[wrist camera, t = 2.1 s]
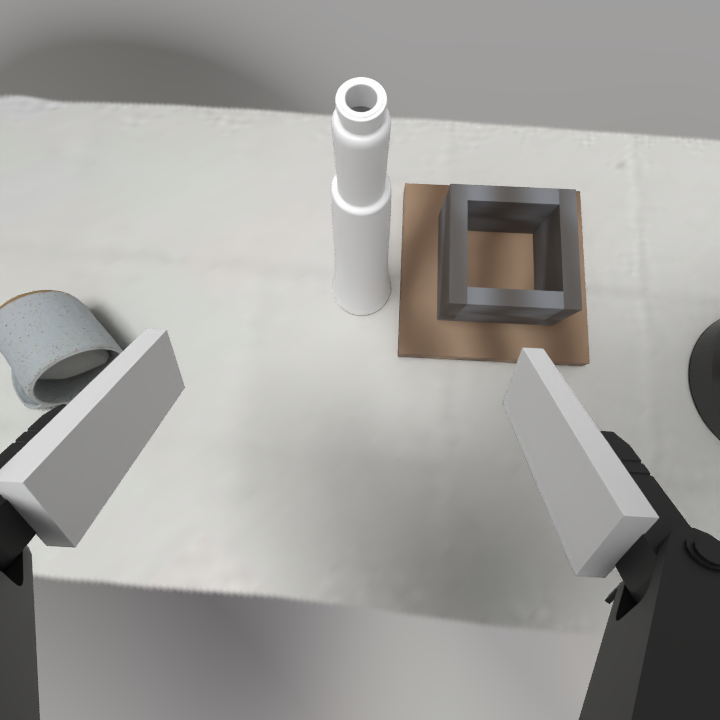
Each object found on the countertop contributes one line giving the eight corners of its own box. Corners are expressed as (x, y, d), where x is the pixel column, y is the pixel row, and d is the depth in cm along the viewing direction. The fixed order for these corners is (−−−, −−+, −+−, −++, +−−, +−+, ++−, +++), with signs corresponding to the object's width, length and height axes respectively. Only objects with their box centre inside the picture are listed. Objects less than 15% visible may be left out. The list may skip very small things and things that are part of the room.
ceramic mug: (96, 299, 37) (26, 269, 29) (144, 357, 36) (84, 340, 28) (10, 370, 36) (-85, 357, 28) (58, 431, 35) (-28, 434, 27)
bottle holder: (571, 200, 39) (613, 156, 32) (580, 365, 36) (628, 353, 29) (403, 192, 39) (412, 147, 32) (397, 356, 36) (405, 341, 29)
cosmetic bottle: (383, 321, 36) (415, 174, 15) (325, 308, 37) (273, 144, 15) (396, 267, 37) (444, 53, 16) (340, 254, 38) (311, 27, 16)
